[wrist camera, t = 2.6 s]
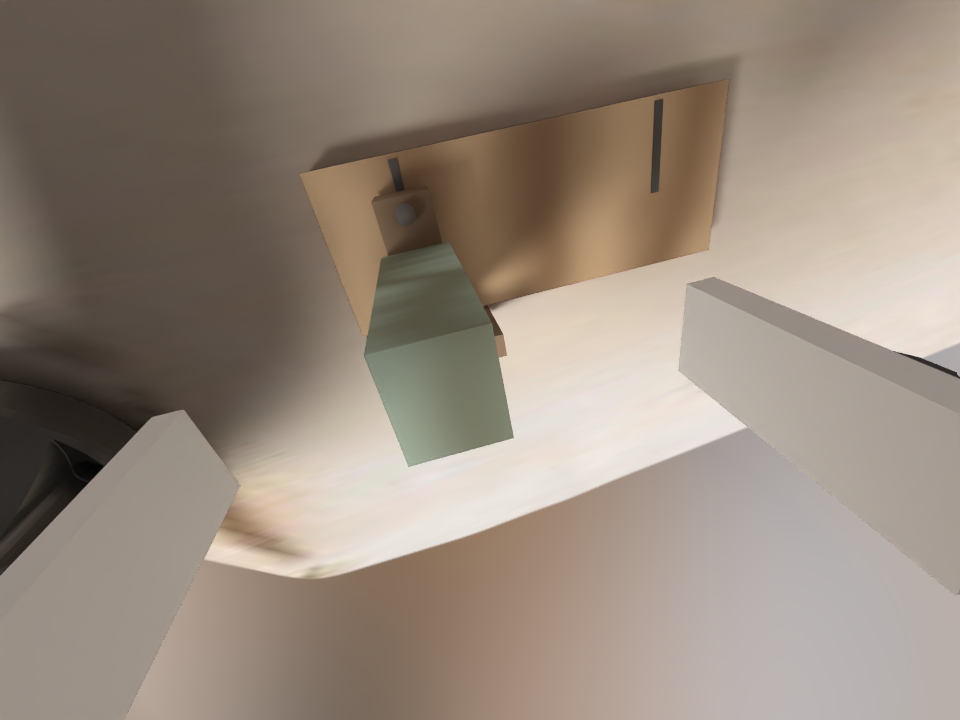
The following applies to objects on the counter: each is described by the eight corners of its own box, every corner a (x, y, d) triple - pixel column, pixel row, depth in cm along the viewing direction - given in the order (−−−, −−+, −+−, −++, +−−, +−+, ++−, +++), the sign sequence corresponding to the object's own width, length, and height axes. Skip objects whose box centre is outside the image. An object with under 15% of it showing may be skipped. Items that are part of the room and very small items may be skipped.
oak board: (365, 321, 22) (362, 336, 20) (308, 171, 18) (298, 173, 16) (685, 242, 23) (709, 249, 21) (700, 85, 19) (730, 78, 17)
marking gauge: (390, 345, 22) (380, 531, 11) (339, 201, 18) (249, 279, 7) (488, 320, 22) (569, 477, 12) (460, 174, 18) (544, 208, 8)
